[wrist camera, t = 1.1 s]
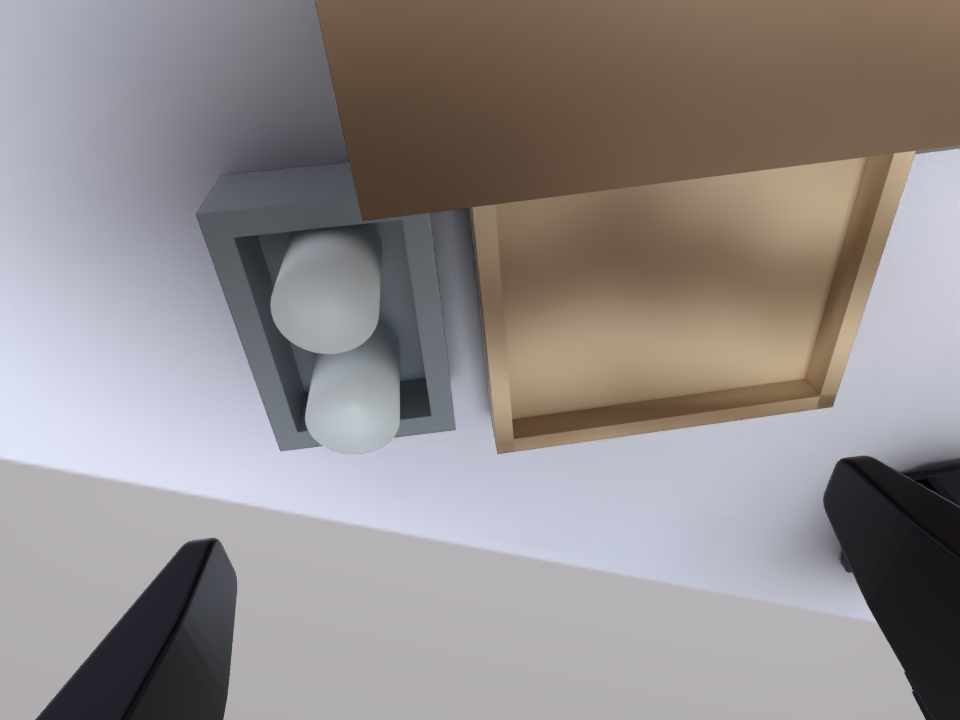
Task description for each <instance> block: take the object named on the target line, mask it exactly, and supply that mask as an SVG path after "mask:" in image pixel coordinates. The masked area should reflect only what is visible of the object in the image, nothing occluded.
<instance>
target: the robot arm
mask: <svg viewBox="0 0 960 720" xmlns="http://www.w3.org/2000/svg"><path fill="white" fill-rule="evenodd" d="M823 503H824V508H825V511H826V514H827V516H828V518H829V521H830V523H831V525H832V527H833V530H834V532H835V534H836V536H837V539H838V541H839V543H840V545H841V548H842V550H843V552H844V555H843V558H842V560H841V564H842V566H843V567H844V569H845V570H846V572H849V573H850V572H853V574H854V577H855V579H856V581H857V583H858V586H859V588H860V590H861V592H862V594H863V596H864V598H865V601H866V603H867V605H868V607H869V609H870V610H871V612H872V614H873V616H874V618H875V620H876V621H877V623H878V625H879V627H880V628H881V630H882V632H883V633H884V635H885V637H886V639H887V641H888V642H889V644H890V645H891V647H892V649H893V651H894V653H895V655H896V656H897V658H898V660H899V662H900V663H901V665H902V667H903V669H904V670H905V675H906V677H907V679H908V681H909V682H910V685H911V687H912V690H913V691H912V693H913V695H914V697H915V699H916V701H917V703H918V705H919V707H920V709H921V711H922V713H923V715H924V717H925V719H926V720H960V467H955V468H948V469H941V470H935V471H928V472H921V473H914V474H907V475H903V474H901V473H900V472H898V471H896V470H894V469H893V468H891V467H889V466H887V465H886V464H884V463H882V462H880V461H879V460H877V459H875V458H873V457H870V456H856V457H848V458H843V459H841V460H839V461H838V462H837V463H836V465H835V468H834V470H833V473H832V475H831V478H830V480H829V482H828V485H827V487H826V490H825V492H824V497H823ZM236 595H237V577H236V573H235V570H234V568H233V566H232V564H231V562H230V560H229V558H228V556H227V554H226V552H225V550H224V548H223V546H222V544H221V542H220V541H219V540H218V539H216V538H208V539H200V540H192V541H189V542H187V543H185V544H184V545H183V546H182V547H181V548H180V549H179V550H178V552H177V553H176V554H175V555H174V556H173V558H172V559H171V560H170V561H169V562H168V563H167V565H166V566H165V567H164V568H163V569H162V571H161V572H160V573H159V574H158V575H157V576H156V578H155V579H154V580H153V581H152V582H151V584H150V585H149V586H148V587H147V588H146V590H145V591H144V592H143V593H142V594H141V595H140V597H139V598H138V599H137V600H136V601H135V602H134V604H133V605H132V606H131V607H130V608H129V610H128V611H127V612H126V613H125V614H124V615H123V617H122V618H121V619H120V620H119V621H118V623H117V624H116V625H115V626H114V627H113V628H112V630H111V631H110V632H109V633H108V634H107V636H106V637H105V638H104V639H103V640H102V641H101V643H100V644H99V645H98V646H97V648H96V649H95V650H94V651H93V652H92V653H91V654H90V656H89V657H88V658H87V659H86V660H85V662H84V663H83V664H82V665H81V666H80V668H79V669H78V670H77V671H76V672H75V674H74V675H73V676H72V677H71V678H70V679H69V681H68V682H67V683H66V684H65V685H64V687H63V688H62V689H61V690H60V691H59V692H58V694H57V695H56V696H55V697H54V699H52V701H51V702H50V703H49V704H48V705H47V707H46V708H45V709H44V710H43V711H42V712H41V714H40V715H39V716H38V717H37V718H36V720H223V718H224V712H225V706H226V701H227V695H228V685H229V676H230V665H231V664H230V663H231V653H232V642H233V630H234V617H235V607H236Z"/></svg>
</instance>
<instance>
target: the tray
mask: <svg viewBox="0 0 960 720" xmlns="http://www.w3.org/2000/svg"><path fill="white" fill-rule="evenodd" d="M196 216H197V219H198V222H199V225H200V228H201V230H202V233H203V236H204V239H205V242H206V244H207V247H208V250H209V253H210V256H211V258H212V261H213V264H214V267H215V270H216V272H217V275H218V278H219V281H220V284H221V286H222V289H223V292H224V295H225V298H226V300H227V303H228V306H229V309H230V312H231V314H232V317H233V320H234V323H235V326H236V328H237V331H238V334H239V337H240V340H241V342H242V345H243V348H244V351H245V354H246V357H247V359H248V362H249V365H250V368H251V371H252V373H253V376H254V379H255V382H256V385H257V387H258V390H259V393H260V396H261V399H262V401H263V404H264V407H265V410H266V413H267V415H268V418H269V421H270V424H271V427H272V429H273V432H274V435H275V438H276V441H277V443H278V446H279V449H280V451H286V450H295V449H303V448H311V447H319V446H324V447H326V448H328V449H330V450H333V451H336V452H340V453H346V454H361V453H367V452H371V451H374V450H377V449H379V448H381V447H383V446H384V445H386V444H387V443H388V442H389V441H390V440H391V439H392V438H393V437H402V436H410V435H418V434H426V433H435V432H443V431H451V430H456V428H455V419H454V410H453V401H452V392H451V382H450V374H449V365H448V357H447V349H446V341H445V332H444V324H443V316H442V307H441V299H440V291H439V283H438V274H437V266H436V258H435V250H434V241H433V233H432V225H431V216H430V213H425V214H417V215H409V216H401V217H393V218H385V219H378V220H370V221H362V218H361V213H360V208H359V204H358V199H357V194H356V190H355V185H354V181H353V176H352V171H351V167H350V162H343V163H333V164H323V165H313V166H303V167H293V168H284V169H274V170H264V171H254V172H244V173H234V174H225V175H221V176H220V178H219V179H218V181H217V182H216V184H215V185H214V187H213V188H212V190H211V191H210V193H209V195H208V196H207V198H206V199H205V201H204V202H203V204H202V205H201V207H200V208H199V210H198V211H197V213H196Z"/></svg>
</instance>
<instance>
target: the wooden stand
mask: <svg viewBox="0 0 960 720" xmlns="http://www.w3.org/2000/svg"><path fill="white" fill-rule="evenodd" d="M315 4H316V9H317V13H318V18H319V23H320V27H321V32H322V37H323V41H324V46H325V51H326V55H327V60H328V65H329V69H330V74H331V78H332V83H333V88H334V92H335V97H336V102H337V106H338V111H339V116H340V120H341V125H342V129H343V134H344V139H345V143H346V148H347V153H348V157H349V162H350V167H351V171H352V176H353V181H354V185H355V190H356V194H357V199H358V204H359V208H360V213H361V218H362V221H370V220H378V219H385V218H393V217H401V216H409V215H417V214H425V213H432V212H440V211H448V210H456V209H464V208H472V207H479V206H487V205H495V204H503V203H511V202H519V201H526V200H534V199H542V198H550V197H558V196H565V195H573V194H581V193H589V192H597V191H605V190H612V189H620V188H628V187H636V186H644V185H652V184H659V183H667V182H675V181H683V180H691V179H699V178H706V177H714V176H722V175H730V174H738V173H746V172H753V171H761V170H769V169H777V168H785V167H793V166H800V165H808V164H816V163H824V162H832V161H840V160H847V159H855V158H863V157H871V156H879V155H887V154H894V153H902V152H910V151H918V150H926V149H934V148H941V147H949V146H957V145H960V0H315Z"/></svg>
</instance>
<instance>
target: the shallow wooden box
mask: <svg viewBox="0 0 960 720" xmlns="http://www.w3.org/2000/svg"><path fill="white" fill-rule="evenodd" d="M959 148H960V145H957V146H949V147H941V148H934V149H926V150H918V151H910V152H902V153H894V154H887V155H879V156H871V157H863V158H855V159H847V160H840V161H832V162H824V163H816V164H808V165H800V166H793V167H785V168H777V169H769V170H761V171H753V172H746V173H738V174H730V175H722V176H714V177H706V178H699V179H691V180H683V181H675V182H667V183H659V184H652V185H644V186H636V187H628V188H620V189H612V190H605V191H597V192H589V193H581V194H573V195H565V196H558V197H550V198H542V199H534V200H526V201H519V202H511V203H503V204H495V205H487V206H479V207H472V208H469V212H470V222H471V231H472V241H473V250H474V260H475V269H476V279H477V288H478V298H479V307H480V317H481V326H482V336H483V345H484V355H485V364H486V374H487V383H488V393H489V402H490V412H491V421H492V426H493V432H494V437H495V443H496V448H497V454H502V453H509V452H516V451H523V450H530V449H537V448H544V447H551V446H558V445H565V444H573V443H580V442H587V441H594V440H601V439H608V438H615V437H622V436H629V435H636V434H644V433H651V432H658V431H665V430H672V429H679V428H686V427H693V426H700V425H707V424H715V423H722V422H729V421H736V420H743V419H750V418H757V417H764V416H771V415H778V414H785V413H793V412H800V411H807V410H814V409H821V408H828V407H833V404H834V401H835V398H836V395H837V392H838V389H839V386H840V383H841V380H842V376H843V373H844V370H845V367H846V364H847V361H848V358H849V355H850V352H851V349H852V346H853V343H854V340H855V337H856V333H857V330H858V327H859V324H860V321H861V318H862V315H863V312H864V309H865V306H866V303H867V300H868V297H869V294H870V290H871V287H872V284H873V281H874V278H875V275H876V272H877V269H878V266H879V263H880V260H881V257H882V254H883V251H884V247H885V244H886V241H887V238H888V235H889V232H890V229H891V226H892V223H893V220H894V217H895V214H896V211H897V208H898V204H899V201H900V198H901V195H902V192H903V189H904V186H905V183H906V180H907V177H908V174H909V171H910V168H911V165H912V161H913V158H914V155H915V154H920V153H928V152H935V151H943V150H951V149H959Z"/></svg>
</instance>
